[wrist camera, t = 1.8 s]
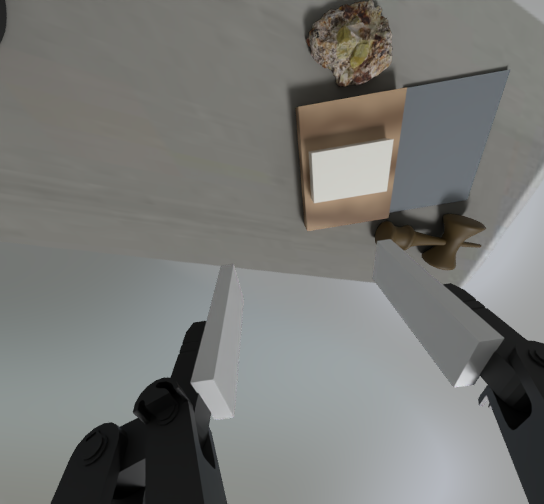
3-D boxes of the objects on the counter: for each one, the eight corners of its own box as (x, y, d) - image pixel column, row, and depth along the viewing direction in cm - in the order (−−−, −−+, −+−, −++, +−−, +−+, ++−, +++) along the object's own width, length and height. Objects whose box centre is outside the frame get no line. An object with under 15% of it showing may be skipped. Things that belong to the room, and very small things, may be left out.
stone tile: (308, 151, 30) (311, 153, 29) (385, 138, 30) (393, 139, 28) (311, 199, 34) (314, 203, 32) (380, 187, 34) (386, 191, 32)
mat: (403, 88, 29) (405, 88, 29) (507, 69, 29) (510, 69, 29) (386, 211, 39) (387, 212, 38) (465, 199, 38) (467, 199, 38)
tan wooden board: (295, 108, 30) (298, 106, 28) (396, 90, 29) (407, 87, 27) (304, 225, 39) (307, 231, 37) (381, 212, 39) (388, 218, 36)
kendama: (383, 203, 38) (483, 216, 40) (364, 248, 44) (454, 258, 45) (401, 216, 33) (515, 230, 35) (377, 266, 38) (477, 275, 40)
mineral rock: (414, -3, 23) (392, 81, 25) (390, 27, 28) (373, 98, 30) (320, -29, 22) (305, 61, 24) (310, 6, 27) (298, 81, 29)
